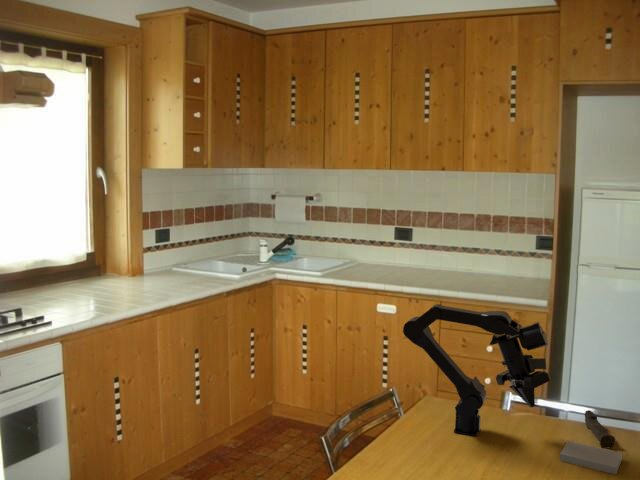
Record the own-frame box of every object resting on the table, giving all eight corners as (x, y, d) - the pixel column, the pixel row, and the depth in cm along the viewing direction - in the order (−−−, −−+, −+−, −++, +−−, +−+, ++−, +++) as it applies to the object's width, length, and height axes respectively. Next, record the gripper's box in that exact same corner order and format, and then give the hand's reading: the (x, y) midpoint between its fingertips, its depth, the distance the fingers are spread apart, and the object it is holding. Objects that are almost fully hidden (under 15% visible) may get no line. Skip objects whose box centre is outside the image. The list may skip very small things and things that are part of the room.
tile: (560, 453, 179) (616, 467, 172) (568, 440, 188) (622, 453, 180) (559, 461, 180) (615, 476, 172) (567, 448, 188) (621, 461, 181)
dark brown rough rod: (614, 449, 188) (616, 433, 187) (600, 448, 188) (601, 432, 188) (595, 423, 206) (596, 408, 206) (581, 422, 207) (582, 407, 206)
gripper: (555, 344, 184) (576, 398, 183) (516, 344, 202) (535, 393, 201) (523, 359, 180) (544, 414, 180) (486, 358, 198) (505, 408, 197)
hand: (532, 406), depth 190 cm, fingers closed
